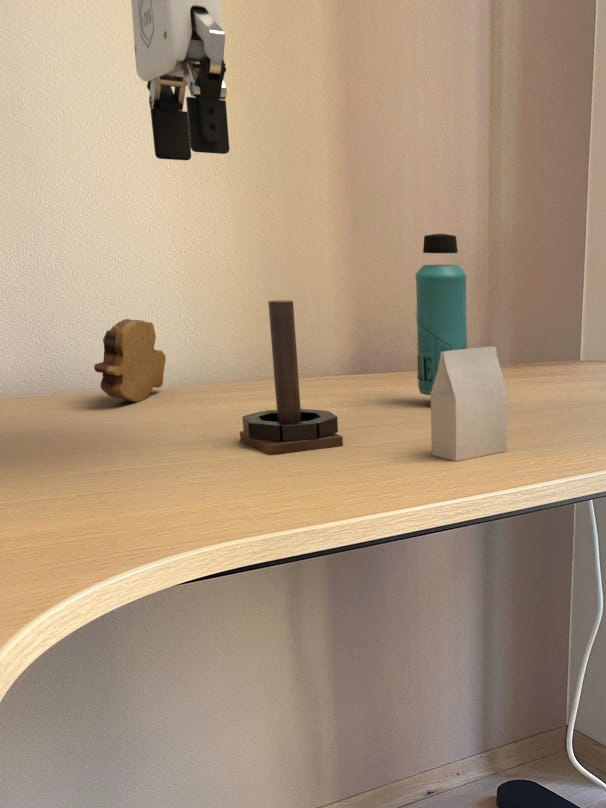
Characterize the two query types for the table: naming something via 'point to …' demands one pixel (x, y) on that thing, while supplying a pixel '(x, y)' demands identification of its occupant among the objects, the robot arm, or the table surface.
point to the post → (287, 383)
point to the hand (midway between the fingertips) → (191, 156)
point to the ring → (290, 426)
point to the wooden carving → (131, 361)
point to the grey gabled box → (468, 405)
